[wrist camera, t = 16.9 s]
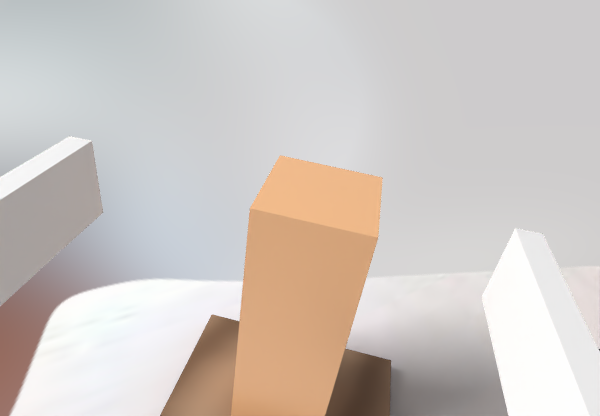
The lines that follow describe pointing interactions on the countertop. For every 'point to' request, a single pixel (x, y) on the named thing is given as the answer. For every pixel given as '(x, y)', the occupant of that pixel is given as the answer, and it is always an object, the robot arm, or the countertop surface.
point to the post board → (221, 371)
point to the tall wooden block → (302, 285)
